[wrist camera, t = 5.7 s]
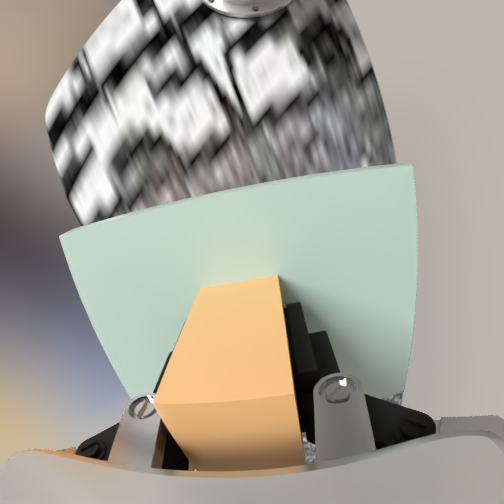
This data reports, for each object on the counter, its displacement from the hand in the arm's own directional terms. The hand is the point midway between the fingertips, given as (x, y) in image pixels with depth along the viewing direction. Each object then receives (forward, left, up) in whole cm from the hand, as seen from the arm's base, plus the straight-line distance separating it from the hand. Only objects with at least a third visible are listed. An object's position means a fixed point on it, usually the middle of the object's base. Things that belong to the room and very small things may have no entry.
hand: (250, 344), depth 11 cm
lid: (0, 0, -3) cm, 3 cm away
